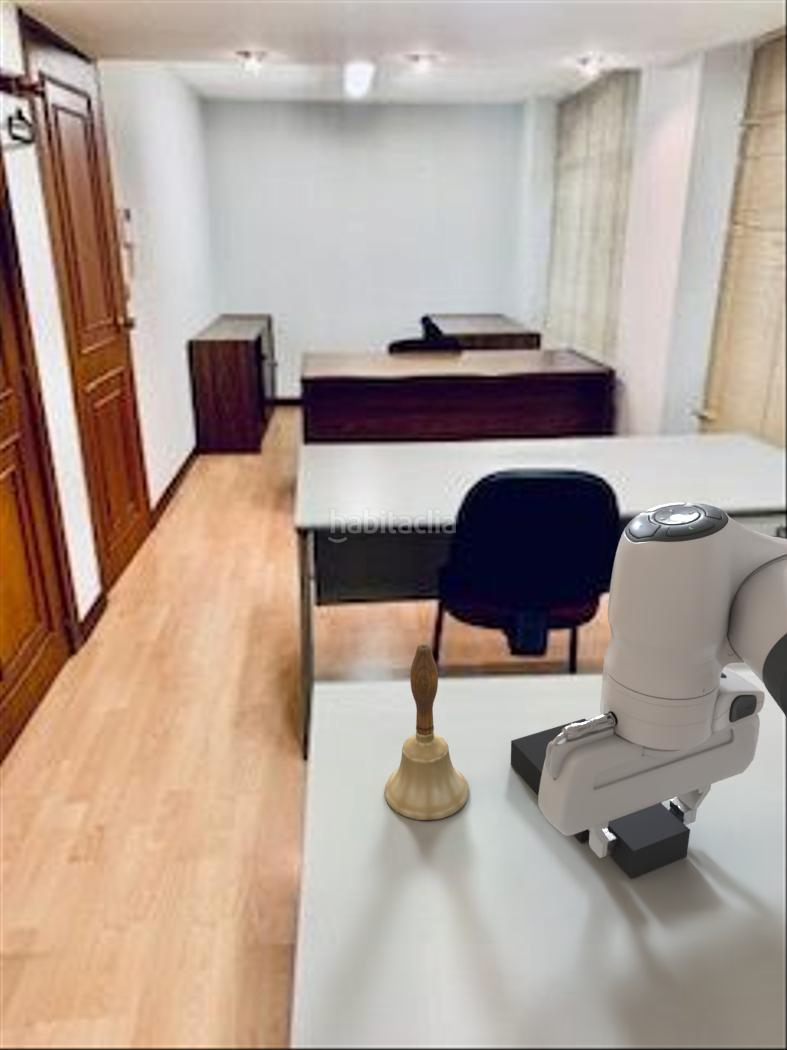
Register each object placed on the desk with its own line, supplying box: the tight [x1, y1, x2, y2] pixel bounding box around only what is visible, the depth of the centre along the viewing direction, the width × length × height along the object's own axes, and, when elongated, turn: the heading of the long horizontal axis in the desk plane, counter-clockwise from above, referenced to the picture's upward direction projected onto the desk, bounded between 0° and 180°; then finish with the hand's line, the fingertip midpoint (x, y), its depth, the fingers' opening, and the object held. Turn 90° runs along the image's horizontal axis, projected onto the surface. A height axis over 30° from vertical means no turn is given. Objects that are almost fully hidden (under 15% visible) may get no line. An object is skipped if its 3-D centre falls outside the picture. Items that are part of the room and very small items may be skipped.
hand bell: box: [384, 643, 470, 821], centre depth 72 cm, size 8×8×16 cm
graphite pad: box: [607, 803, 691, 880], centre depth 67 cm, size 6×7×3 cm
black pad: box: [510, 718, 663, 844], centre depth 74 cm, size 9×12×3 cm
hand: (642, 834), depth 66 cm, fingers open, 7 cm apart
